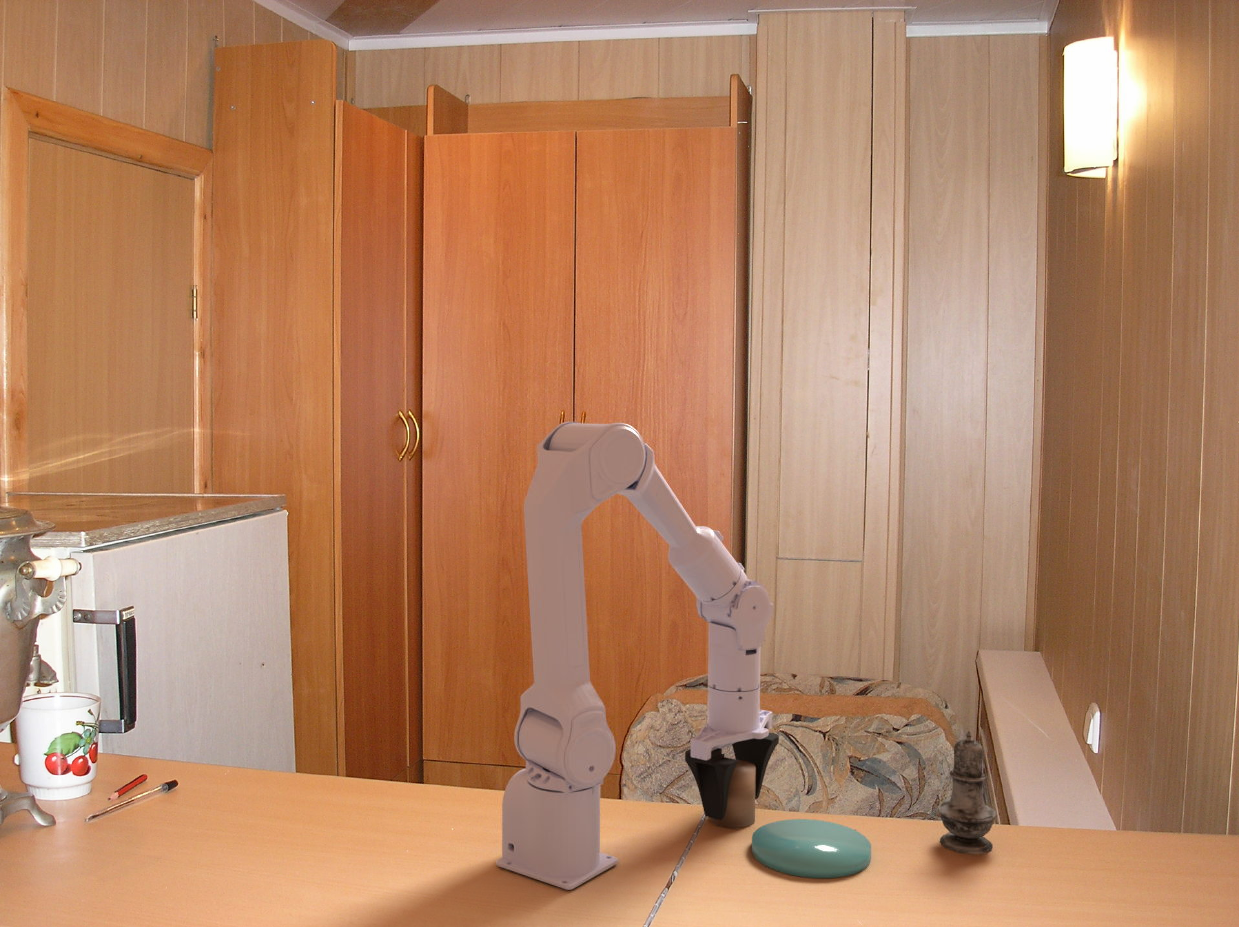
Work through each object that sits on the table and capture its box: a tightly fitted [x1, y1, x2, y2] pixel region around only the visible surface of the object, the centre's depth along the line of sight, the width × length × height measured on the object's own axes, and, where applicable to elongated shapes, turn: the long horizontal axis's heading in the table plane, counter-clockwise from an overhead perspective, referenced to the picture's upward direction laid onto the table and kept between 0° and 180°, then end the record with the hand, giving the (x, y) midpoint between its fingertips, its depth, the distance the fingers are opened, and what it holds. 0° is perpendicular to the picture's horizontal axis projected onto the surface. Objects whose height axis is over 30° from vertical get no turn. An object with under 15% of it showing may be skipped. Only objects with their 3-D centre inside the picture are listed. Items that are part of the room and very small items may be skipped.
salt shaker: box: [937, 730, 997, 855], centre depth 113 cm, size 6×6×12 cm
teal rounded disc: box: [751, 818, 872, 879], centre depth 111 cm, size 12×12×1 cm
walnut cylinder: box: [708, 758, 756, 830], centre depth 119 cm, size 5×5×6 cm
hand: (732, 806), depth 119 cm, fingers open, 7 cm apart
